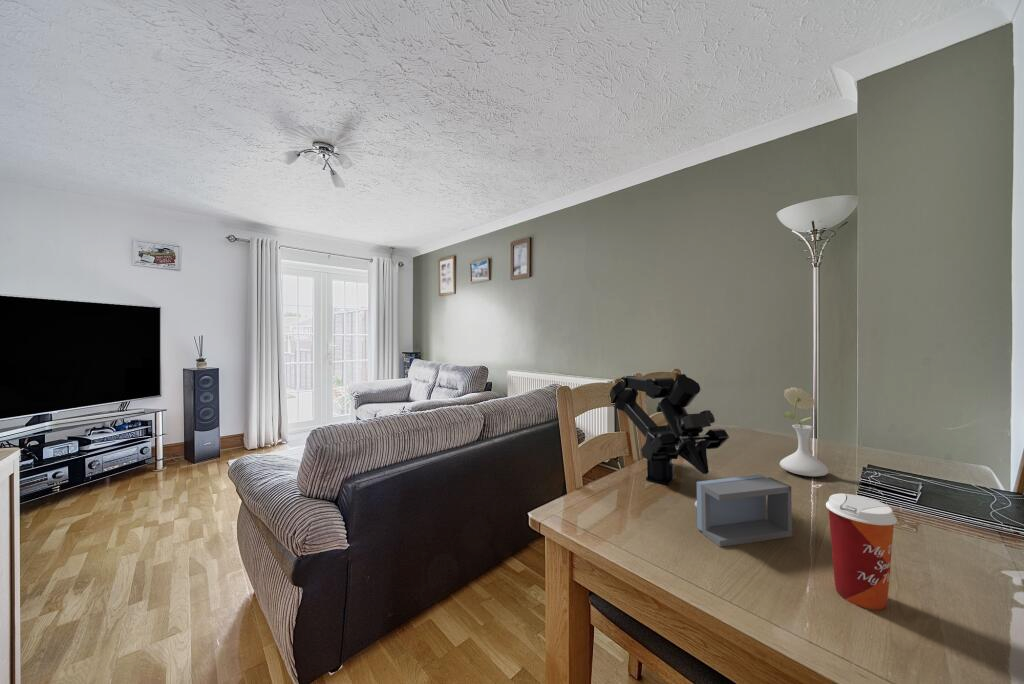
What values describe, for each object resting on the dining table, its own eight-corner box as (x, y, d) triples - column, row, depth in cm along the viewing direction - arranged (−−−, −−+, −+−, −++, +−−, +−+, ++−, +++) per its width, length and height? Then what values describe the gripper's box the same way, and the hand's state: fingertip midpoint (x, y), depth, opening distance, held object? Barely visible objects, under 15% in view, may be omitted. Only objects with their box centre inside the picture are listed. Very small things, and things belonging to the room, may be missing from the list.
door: (693, 525, 81) (692, 479, 81) (759, 515, 84) (759, 472, 84) (702, 531, 79) (701, 484, 78) (770, 521, 82) (769, 476, 82)
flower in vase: (839, 480, 104) (838, 391, 104) (798, 480, 104) (797, 392, 104) (803, 463, 117) (802, 384, 117) (767, 464, 117) (766, 385, 117)
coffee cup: (884, 623, 54) (883, 520, 53) (816, 589, 61) (815, 498, 61) (907, 603, 57) (906, 507, 57) (840, 573, 65) (840, 488, 64)
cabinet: (702, 533, 78) (701, 484, 78) (770, 524, 81) (770, 477, 81) (719, 546, 73) (719, 494, 73) (791, 536, 76) (791, 486, 76)
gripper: (656, 401, 92) (685, 460, 81) (723, 397, 95) (759, 453, 84) (640, 425, 100) (665, 482, 89) (702, 421, 103) (733, 475, 92)
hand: (706, 473), depth 88 cm, fingers closed
